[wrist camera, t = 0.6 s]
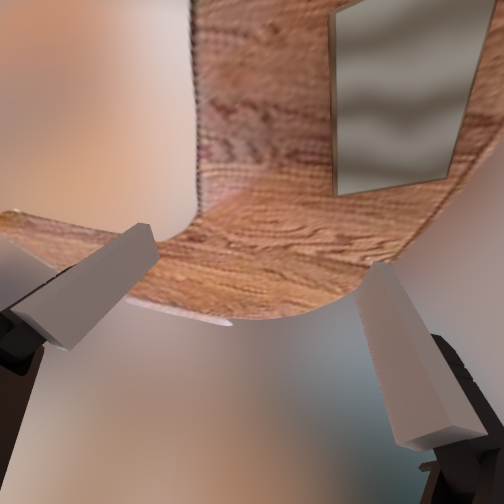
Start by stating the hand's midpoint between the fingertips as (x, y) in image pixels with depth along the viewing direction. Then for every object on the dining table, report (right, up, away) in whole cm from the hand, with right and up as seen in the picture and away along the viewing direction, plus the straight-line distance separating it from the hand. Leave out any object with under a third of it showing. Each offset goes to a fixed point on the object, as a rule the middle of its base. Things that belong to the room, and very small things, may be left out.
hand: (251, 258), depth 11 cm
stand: (+18, +19, +13) cm, 29 cm away
